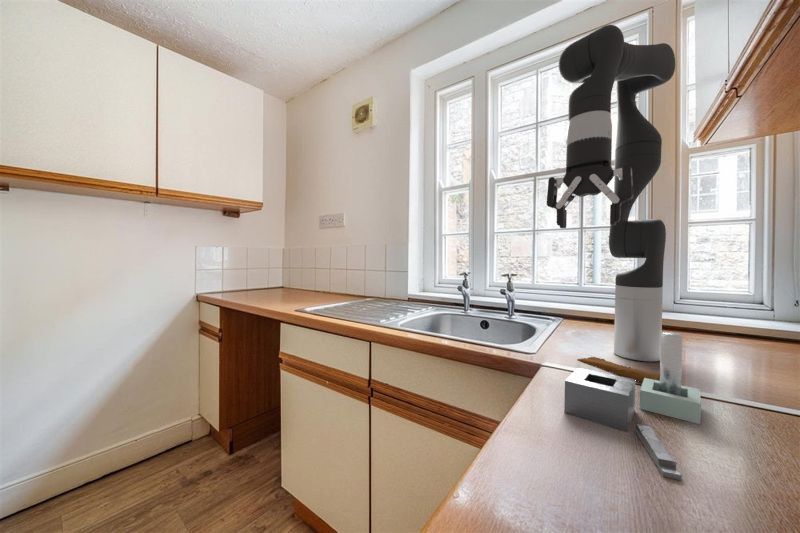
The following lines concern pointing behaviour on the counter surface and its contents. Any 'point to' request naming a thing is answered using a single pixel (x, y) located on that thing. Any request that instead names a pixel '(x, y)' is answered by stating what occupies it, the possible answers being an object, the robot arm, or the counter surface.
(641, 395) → the box
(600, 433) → the counter surface
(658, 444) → the bar
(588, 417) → the socket
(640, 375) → the primitive tool
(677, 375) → the peg
